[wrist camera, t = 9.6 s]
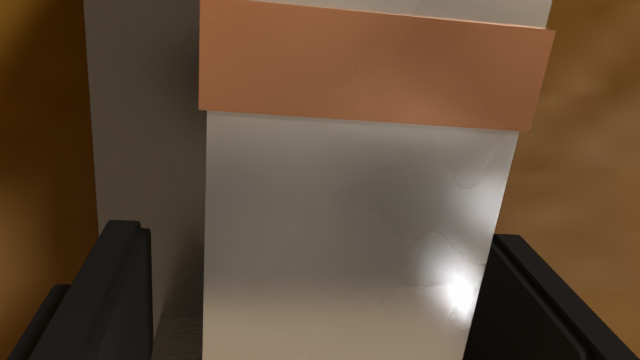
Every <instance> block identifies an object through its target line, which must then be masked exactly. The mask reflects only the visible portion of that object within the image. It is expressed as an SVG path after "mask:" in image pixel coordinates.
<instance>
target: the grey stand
mask: <svg viewBox="0 0 640 360" xmlns="http://www.w3.org/2000/svg"><path fill="white" fill-rule="evenodd" d="M83 4H84V19H85V34H86V49H87V64H88V79H89V94H90V109H91V125H92V140H93V155H94V170H95V185H96V200H97V215H98V230H99V236H100V234H101V232H102V231H103V229H104V227H105V226H106V224H107V222H108V221H109V220H130V221H140V224H141V228H150V231H151V255H152V296H153V351H152V357H151V360H202V352H203V299H204V246H205V193H206V140H207V110H199V36H200V0H83Z"/></svg>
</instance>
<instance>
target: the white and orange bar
mask: <svg viewBox="0 0 640 360" xmlns="http://www.w3.org/2000/svg"><path fill="white" fill-rule="evenodd" d="M551 3H552V0H200V36H199V110H207V140H206V193H205V246H204V299H203V352H202V360H462V358H463V354H464V350H465V346H466V342H467V338H468V334H469V330H470V326H471V322H472V318H473V314H474V310H475V306H476V302H477V298H478V294H479V290H480V286H481V282H482V278H483V274H484V270H485V266H486V262H487V258H488V254H489V251H490V247H491V243H492V239H493V235H494V231H495V227H496V223H497V219H498V215H499V211H500V207H501V203H502V199H503V195H504V191H505V187H506V183H507V179H508V175H509V171H510V167H511V163H512V159H513V155H514V151H515V147H516V143H517V139H518V135H519V131H523V132H530V129H531V125H532V121H533V117H534V113H535V109H536V106H537V102H538V98H539V94H540V90H541V86H542V82H543V79H544V75H545V71H546V67H547V63H548V59H549V55H550V51H551V48H552V44H553V40H554V36H555V32H556V30H552V29H548V28H545V27H546V23H547V19H548V15H549V11H550V7H551Z"/></svg>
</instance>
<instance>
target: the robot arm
mask: <svg viewBox="0 0 640 360" xmlns="http://www.w3.org/2000/svg"><path fill="white" fill-rule="evenodd" d="M152 351H153V296H152V255H151V231H150V228H141V224H140V221H130V220H109V221H108V222H107V224H106V226H105V227H104V229H103V231H102V232H101V234H100V236H99V238H98V239H97V241H96V243H95V245H94V246H93V248H92V250H91V252H90V253H89V255H88V257H87V259H86V260H85V262H84V264H83V265H82V267H81V269H80V271H79V272H78V274H77V276H76V278H75V279H74V281H73V283H72V285H69V284H58V285H55V286H54V287H53V288H52V289H51V290H50V292H49V294H48V295H47V297H46V298H45V300H44V302H43V303H42V305H41V306H40V308H39V309H38V311H37V313H36V314H35V316H34V317H33V319H32V321H31V322H30V324H29V325H28V327H27V329H26V330H25V332H24V333H23V335H22V336H21V338H20V340H19V341H18V343H17V344H16V346H15V348H14V349H13V351H12V352H11V354H10V356H9V357H8V359H7V360H151V357H152ZM462 360H640V359H639V358H638V357H637V356H636V355H635V354H634V353H633V352H632V351H631V350H630V349H629V348H628V347H627V346H626V345H625V344H624V343H623V342H622V341H621V340H620V339H619V338H618V337H617V336H616V335H615V333H614V332H613V331H612V330H611V329H610V328H609V327H608V326H607V325H606V324H605V323H604V322H603V321H602V320H601V319H600V318H599V317H598V316H597V315H596V314H595V313H594V312H593V311H592V310H591V309H590V308H589V307H588V306H587V304H586V303H585V302H584V301H583V300H582V299H581V298H580V297H579V296H578V295H577V294H576V293H575V292H574V291H573V290H572V289H571V288H570V287H569V286H568V285H567V284H566V283H565V282H564V281H563V280H562V279H561V278H560V277H559V275H558V274H557V273H556V272H555V271H554V270H553V269H552V268H551V267H550V266H549V265H548V264H547V263H546V262H545V261H544V260H543V259H542V258H541V257H540V256H539V255H538V254H537V253H536V252H535V251H534V250H533V249H532V248H531V246H530V245H529V244H528V243H527V242H526V241H525V240H524V239H523V238H522V237H521V236H519V235H510V234H494V235H493V239H492V243H491V247H490V251H489V254H488V258H487V262H486V266H485V270H484V274H483V278H482V282H481V286H480V290H479V294H478V298H477V302H476V306H475V310H474V314H473V318H472V322H471V326H470V330H469V334H468V338H467V342H466V346H465V350H464V354H463V358H462Z"/></svg>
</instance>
